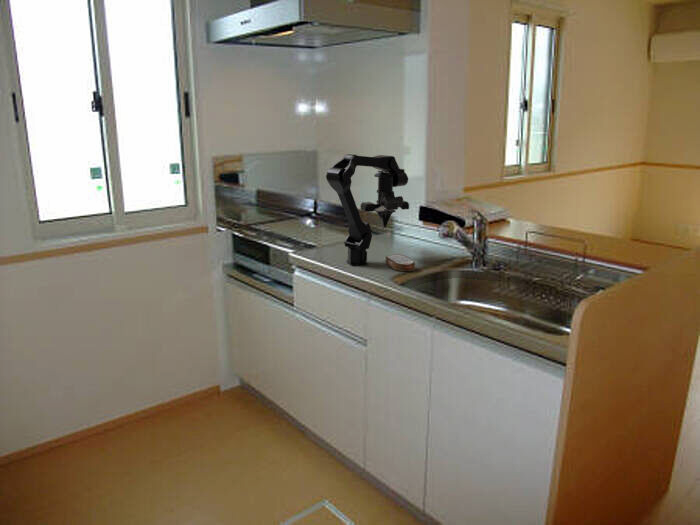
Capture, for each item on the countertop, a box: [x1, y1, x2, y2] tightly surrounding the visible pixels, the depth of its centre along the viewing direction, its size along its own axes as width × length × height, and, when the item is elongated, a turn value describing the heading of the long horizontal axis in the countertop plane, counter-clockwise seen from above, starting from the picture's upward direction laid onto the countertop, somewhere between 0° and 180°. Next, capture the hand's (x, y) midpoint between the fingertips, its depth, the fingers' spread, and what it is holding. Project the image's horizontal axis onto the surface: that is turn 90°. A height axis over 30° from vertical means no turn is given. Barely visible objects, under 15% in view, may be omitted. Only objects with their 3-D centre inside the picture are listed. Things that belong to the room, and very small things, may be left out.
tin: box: [384, 254, 416, 272], centre depth 205 cm, size 15×3×8 cm
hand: (384, 227), depth 217 cm, fingers closed
